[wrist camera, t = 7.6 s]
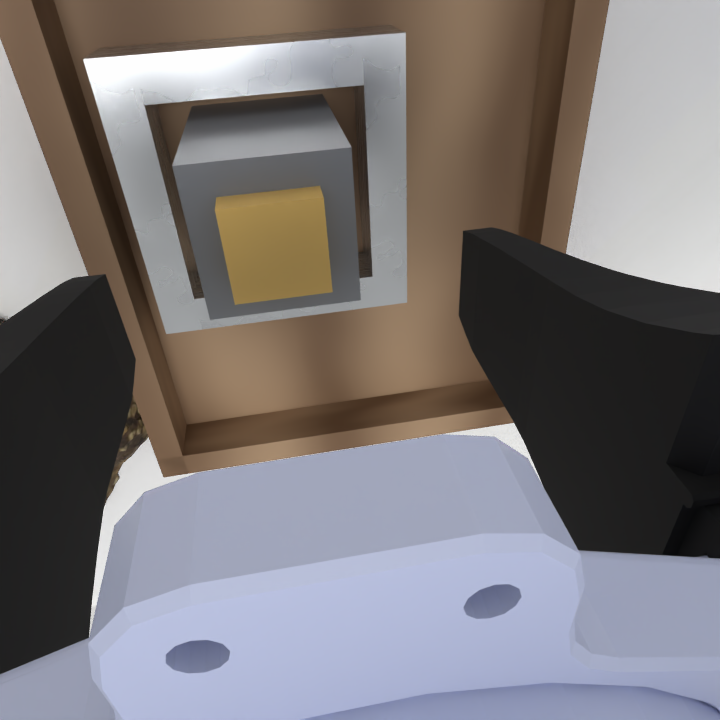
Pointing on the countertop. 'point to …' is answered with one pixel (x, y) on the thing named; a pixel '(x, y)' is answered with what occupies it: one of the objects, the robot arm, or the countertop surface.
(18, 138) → the countertop surface
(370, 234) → the socket
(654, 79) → the countertop surface
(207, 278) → the block
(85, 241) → the tray
